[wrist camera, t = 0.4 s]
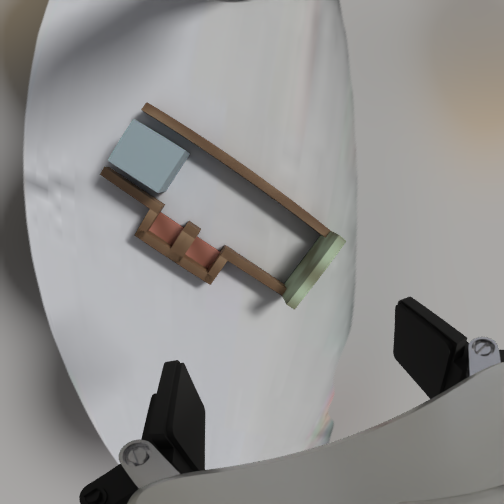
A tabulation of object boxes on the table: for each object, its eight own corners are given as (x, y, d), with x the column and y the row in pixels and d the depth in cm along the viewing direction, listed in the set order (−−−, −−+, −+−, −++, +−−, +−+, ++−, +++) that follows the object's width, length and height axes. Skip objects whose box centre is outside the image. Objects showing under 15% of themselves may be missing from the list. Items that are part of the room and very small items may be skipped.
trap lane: (150, 105, 33) (140, 96, 28) (332, 233, 41) (346, 241, 36) (91, 199, 35) (76, 203, 31) (269, 315, 43) (275, 332, 38)
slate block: (144, 125, 34) (133, 118, 29) (190, 154, 36) (185, 150, 31) (120, 162, 35) (107, 160, 30) (165, 191, 37) (157, 193, 32)
